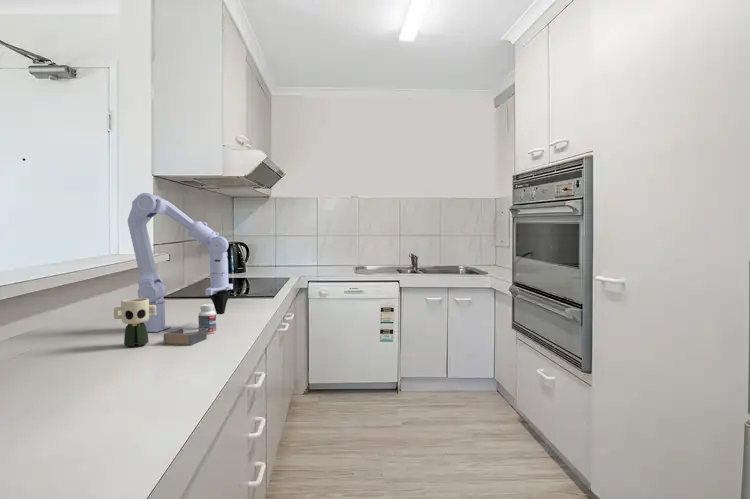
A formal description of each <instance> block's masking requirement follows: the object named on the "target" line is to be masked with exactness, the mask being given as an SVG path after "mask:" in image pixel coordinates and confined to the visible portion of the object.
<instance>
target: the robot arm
mask: <svg viewBox="0 0 750 499" xmlns="http://www.w3.org/2000/svg"><path fill="white" fill-rule="evenodd" d="M131 204H132V205H131V210H130V212H129V214H128V218H127V225H128V229H129V234H130V239H131V242H132V247H133V252H134V256H135V259H136V260H135V261H136V264H137V269H138V272H139V273H138V274H139V277H138V281H137V282H138V290H137V296H138V297H137V298H146V299H149V305H156V313H157V314H156V316H151V317H149V320H148V321H147V322H144V324H145V325H146V328H147V333H158V332H161V331H163V330H167V329H169V328H172V325H166V303H165V299H164V296H165V295H166V294H167V287H166V285H165V283H163V280H162V278H161V276H160V274H159V272H158V271H157V270H158V269H157V265H156V263H155V262H156V261H155V257H154V253H153V248H152V244H151V240H150V236H149V232H148V226H147V225H148V223H149V222H150V221H151V219H152V218H153V217H154V216H156V215H157V214H160V215H166V216H169V218H170V219H172V220H174V221H175V222H176V223H178V224H180V225H181V226H183V227H184V228H186V229H187V231H188V236H190V237H192V238H193V239H194V240H196V241H197V242H198V243H200V244H201V245H202V246H204V247H206V248H207V250H208V252H209V269H210V270H209V276H210V280H209V281H210V286H209V287H208V288H205V289H204V292H205V293H204V294H205V296H209V298H210V299H211V301H212V304H213V305H214V309H215V310H214V311H215V312H216V315H224V314H225V312H226V307H227V303H228V300H229V298H230V297H231V290H234V284H233V283H229V259H228V256H229V254H228V249H229V245H230V244H229V242H228V240H227V238H226V237H225V236H223V235H220V233H219V232H218V231H214V230H213V229H212V228H210V227H209V226H208V225H209V224H208V223H207V222H205V221H203V222H202V221H200V220H198V221H194V220H193V219H192V218H191V217H189V216H188V215H187V214H185V213H184V212H183V211H182V210H180V209H179V208H178V207H177V206H175V205H174V204H173V203H171V202H170V201H168V200H167V199H165V198H162V196H160V195H159V194H153V193H152V194H151V193H149V192H142V193H140V194H138V195H137V196H136V197H135V198H134V199H133V200H132V202H131ZM228 290H230V291H228ZM149 313H153V308H149Z"/></svg>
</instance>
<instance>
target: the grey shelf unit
mask: <svg viewBox="0 0 750 499" xmlns="http://www.w3.org/2000/svg"><path fill="white" fill-rule="evenodd" d="M207 337H208V334H207V331H206V329H202V330H200V331H199V330H197V331H195V332H193V333H184V328H183V327H179V328H175V329H173V330H170V331H168V332H165V333H163V345H170V344H180V345H179V346H193V345H195V344H198V343H200V342H203V341H205V340H207Z"/></svg>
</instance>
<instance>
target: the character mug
mask: <svg viewBox="0 0 750 499" xmlns="http://www.w3.org/2000/svg"><path fill="white" fill-rule="evenodd" d="M149 308H153V313H149ZM118 311H121V312H120V313H121V314H118ZM156 314H157V313H156V305H149V299H146V298H139V297H137V298H126V299H123V300H120V306H116V307H114V308H113V318H114V319H115V320H121V321H122V323H123V324H126V326H125V329H124V339H123V345H124V346H127V347H135V344H137V346H143V345H146V344H148V343H149V334H148V332H147V328H146V325H145V324H144V322H147V321H148V320H149V317H151V316H156Z"/></svg>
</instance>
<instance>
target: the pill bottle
mask: <svg viewBox="0 0 750 499" xmlns="http://www.w3.org/2000/svg"><path fill="white" fill-rule="evenodd" d="M199 306H200V311H199V312H198V318H197V319H198V331H200V330H202V329H206V331H207V335H211V334H216V333H217V313H216V310H214V309H215V307H214V304H213V303H204V304H200V305H199Z"/></svg>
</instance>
